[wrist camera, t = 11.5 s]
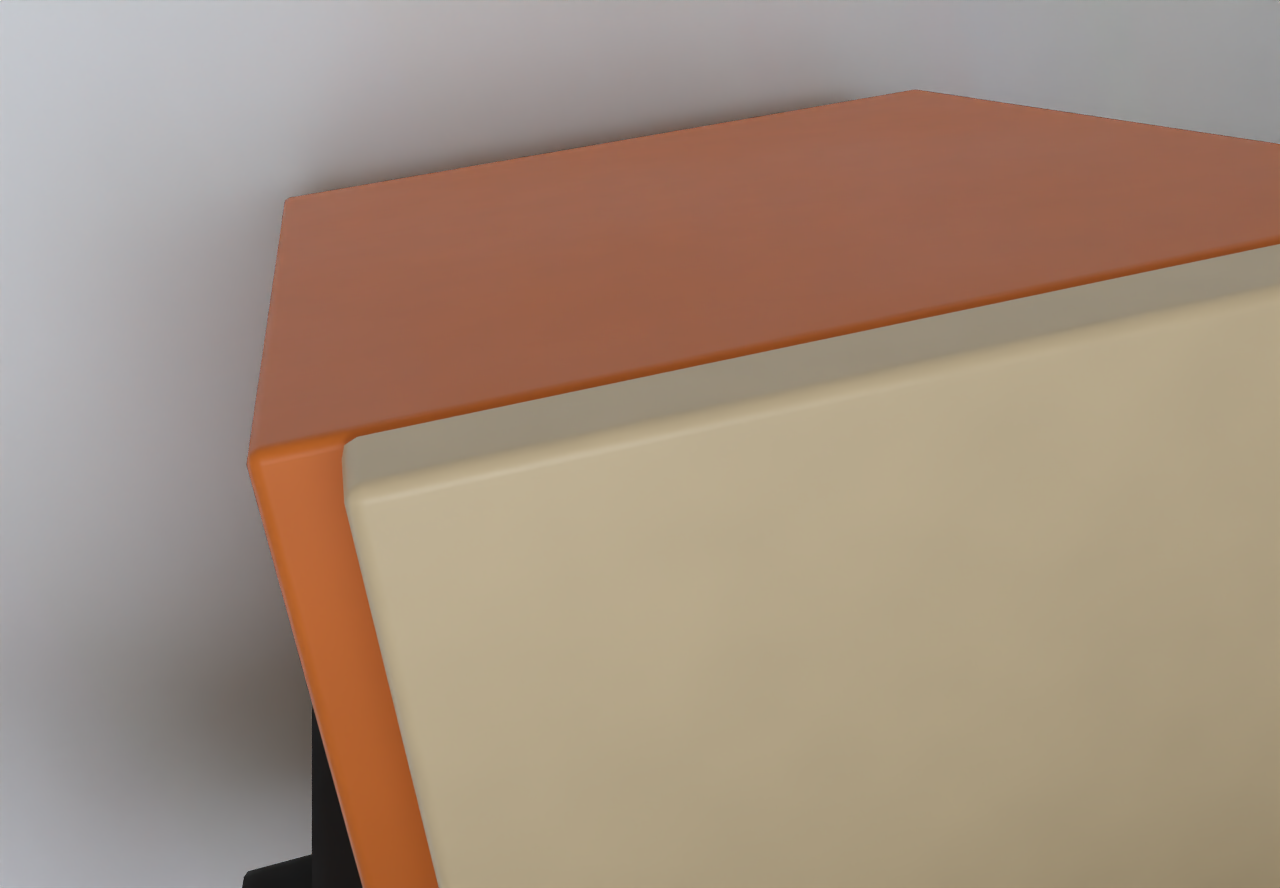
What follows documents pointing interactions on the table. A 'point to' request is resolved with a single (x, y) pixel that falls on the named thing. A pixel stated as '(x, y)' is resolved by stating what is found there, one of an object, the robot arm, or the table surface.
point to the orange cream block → (792, 505)
